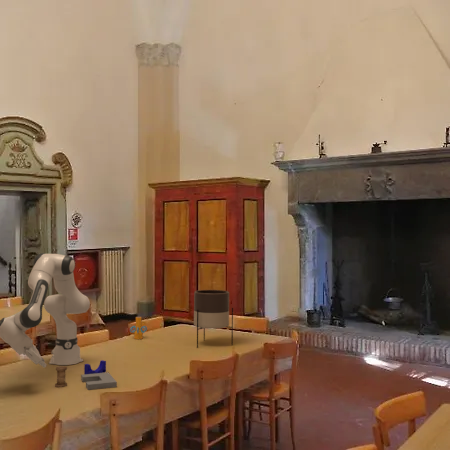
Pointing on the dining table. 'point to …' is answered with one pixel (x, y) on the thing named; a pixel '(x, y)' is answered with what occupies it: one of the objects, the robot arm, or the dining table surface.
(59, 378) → the bobbin
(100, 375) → the notched board
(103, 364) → the cable clip
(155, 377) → the dining table surface
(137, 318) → the orange post with rings
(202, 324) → the planter
